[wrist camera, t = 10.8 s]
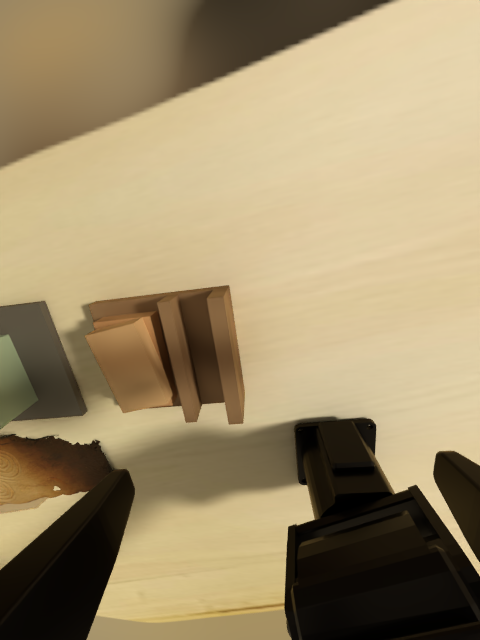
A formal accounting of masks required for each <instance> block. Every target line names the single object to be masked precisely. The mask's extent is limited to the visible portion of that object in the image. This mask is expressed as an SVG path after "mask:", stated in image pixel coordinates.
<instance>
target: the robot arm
mask: <svg viewBox="0 0 480 640" xmlns="http://www.w3.org/2000/svg"><path fill="white" fill-rule="evenodd" d="M368 425H370V426H368ZM300 429H303V430H301V431H299V430H300ZM294 432H295V445H296V457H297V470H298V480H299V483H300V484H302V485H308V490H309V495H310V499H311V504H312V508H313V513H314V518H315V520H313V521H309V522H306V523H303V524H300V525H296V524H295V525H292V526H289V527H288V540H287V558H286V583H285V614H286V618H287V630H288V633H289V635H290V637H291V638H292V640H480V576H479V574H478V573H477V571H476V570H475V568H474V567H473V565H472V564H471V562H470V561H469V559H468V558H467V556H466V555H465V553H464V552H463V550H462V549H461V547H460V546H459V544H458V543H457V541H456V540H455V539H454V537H453V536H452V534H451V533H450V532H449V530H448V529H447V527H446V526H445V525H444V523H443V522H442V520H441V519H440V517H439V516H438V515H437V513H436V512H435V510H434V509H433V508H432V506H431V505H430V503H429V502H428V500H427V499H426V498H425V496H424V495H423V493H422V492H421V491H420V489H419V488H418V486H417V485H414V486H411V487H408V490H405V491H402V492H399V493H396V494H395V493H394V491H393V489H392V487H391V485H390V483H389V482H388V480H387V478H386V476H385V474H384V472H383V471H382V469H381V467H380V465H379V463H378V461H377V460H376V458H375V442H376V424H375V423H374V421H373V420H371V419H357V420H343V421H328V422H314V423H300V424H297V425H296V426H295V427H294ZM433 475H434V480H435V482H436V484H437V486H438V488H439V490H440V492H441V494H442V496H443V497H444V499H445V501H446V503H447V505H448V507H449V509H450V510H451V512H452V514H453V516H454V518H455V520H456V522H457V524H458V525H459V527H460V529H461V531H462V533H463V535H464V537H465V538H466V540H467V542H468V544H469V546H470V547H471V549H472V551H473V552H474V554H475V556H476V557H477V559H478V560H479V562H480V466H479V465H478V464H476V463H474V462H473V461H471V460H469V459H468V458H466V457H464V456H462V455H461V454H459V453H457V452H455V451H439V452H438V453H437V454H436V458H435V464H434V471H433ZM134 495H135V488H134V485H133V482H132V479H131V476H130V474H129V471H128V470H127V469H118V470H113V471H112V472H111V473H109V474H108V475H107V476H106V477H105V478H104V479H103V480H101V481H100V482H99V483H98V484H97V485H96V486H95V487H94V488H92V489H91V490H90V491H89V492H88V493H87V494H86V495H85V496H83V497H82V498H81V499H80V500H79V501H78V502H77V503H75V504H74V505H73V506H72V507H71V508H70V509H69V510H68V511H66V512H65V513H64V514H63V515H62V516H61V517H60V518H59V519H57V520H56V521H55V522H54V523H53V524H52V525H51V526H49V527H48V528H47V529H46V530H45V531H44V532H43V533H42V534H40V535H39V536H38V537H37V538H36V539H35V540H34V541H33V542H31V543H30V544H29V545H28V546H27V547H26V548H25V549H23V550H22V551H21V552H20V553H19V554H18V555H17V556H16V557H14V558H13V559H12V560H11V561H10V562H9V563H8V564H7V565H5V566H4V567H3V568H2V569H1V570H0V640H86V639H87V637H88V634H89V631H90V629H91V626H92V623H93V621H94V618H95V615H96V613H97V610H98V607H99V605H100V602H101V599H102V596H103V594H104V591H105V588H106V586H107V583H108V580H109V578H110V575H111V572H112V570H113V567H114V564H115V561H116V558H117V555H118V552H119V549H120V545H121V542H122V538H123V535H124V531H125V528H126V524H127V521H128V517H129V514H130V510H131V506H132V503H133V499H134Z"/></svg>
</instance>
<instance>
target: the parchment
mask: <svg viewBox="0 0 480 640" xmlns="http://www.w3.org/2000/svg"><path fill="white" fill-rule="evenodd" d="M15 435H16V434H14V435H11V436H9V437H7V436H6V437H1V438H0V514H1V513H7V512H14V511H22V510H28V509H34V508H38V507H39V506H40V504H41V503H43V502H44V501H45V500H46V499H47V498H53V497H57V496H59V495H62V494H64V495H72V494H75V493H78V492H87V491H90V490H91V489H92V488H94V487H95V486H96V485H97V484H98V483H99V482H100V481H101V480H103V479H104V478H105V477H106V476H107V475H108V474H109V473H111V472H112V470H111V469H112V468H111V467H110V464H109V463H108V461H107V459H106V457H105V455H106V454H105V455H104V453H102V451H101V446H99V443H100V441H97V440H95V441H96V442H95V441H92V444H90V445H88V444H84V445H80V444H79V443H78V442H77V443H76V444H75V445H71V444H72V443H69V441H64V440H62V439H60V438H58V439H55V438H54V437H53V436H50V437H49V438H48V436H47V437H45V438H47V439H45V438H40V439H38V440H35V441H34V440H30V439H27V437H26V438H21V437H19V436H15ZM65 440H66V439H65ZM97 442H98V443H97ZM54 486H57V487H59V488H60V489H61V490H56V491H54V490H53V489H54Z"/></svg>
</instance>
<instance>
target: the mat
mask: <svg viewBox="0 0 480 640" xmlns="http://www.w3.org/2000/svg"><path fill="white" fill-rule="evenodd" d="M7 334H9V336H10V338H11V341H12V343H13V345H14V347H15V349H16V352H17V354H18V356H19V358H20V360H21V363H22V365H23V367H24V369H25V371H26V374H27V376H28V378H29V380H30V382H31V385H32V387H33V389H34V391H35V394H36V396H37V398H38V401H37V402H35V403H34V404H33V405H31V406H30V407H29V408H27V409H26V410H25V411H23V412H22V413H21V414H20V415H18V416H17V417H16V418H14V419H13V420H12V421H20V420H33V419H46V418H59V417H71V416H83V415H84V414H85V413H86V412H87V409H86V406H85V404H84V401H83V398H82V396H81V393H80V391H79V388H78V385H77V383H76V380H75V378H74V375H73V372H72V370H71V367H70V365H69V362H68V360H67V357H66V354H65V352H64V349H63V347H62V344H61V341H60V339H59V336H58V334H57V331H56V328H55V326H54V323H53V321H52V318H51V315H50V313H49V310H48V308H47V305H46V302H45V301H41V302H33V303H25V304H17V305H9V306H1V307H0V335H7Z"/></svg>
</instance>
